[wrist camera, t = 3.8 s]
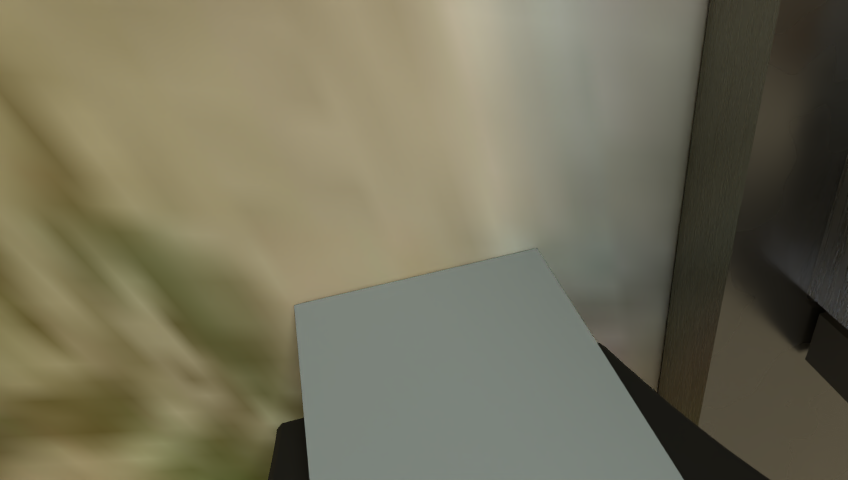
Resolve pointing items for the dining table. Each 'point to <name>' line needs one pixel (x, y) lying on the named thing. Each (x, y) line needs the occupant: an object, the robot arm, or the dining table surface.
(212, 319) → the dining table surface
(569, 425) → the block
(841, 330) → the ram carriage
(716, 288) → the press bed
